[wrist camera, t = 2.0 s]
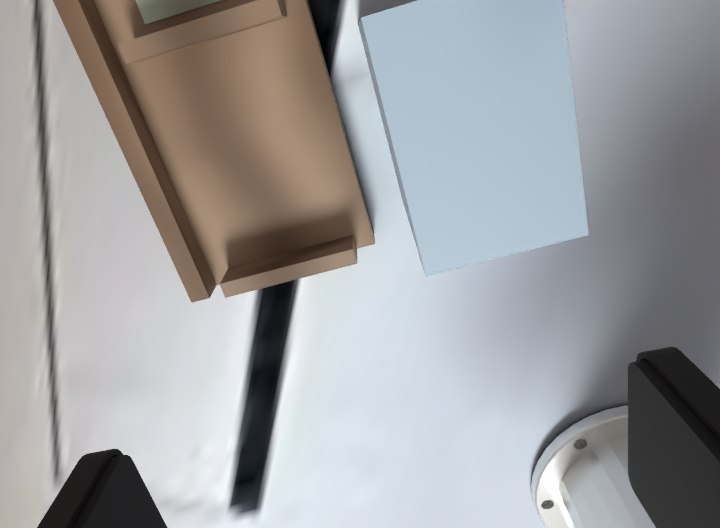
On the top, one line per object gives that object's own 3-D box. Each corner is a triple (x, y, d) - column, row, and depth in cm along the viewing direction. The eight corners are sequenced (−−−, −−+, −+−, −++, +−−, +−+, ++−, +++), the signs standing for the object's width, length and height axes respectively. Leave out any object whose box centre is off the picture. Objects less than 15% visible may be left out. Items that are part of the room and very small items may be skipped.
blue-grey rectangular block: (484, -15, 24) (563, -45, 15) (514, 169, 28) (593, 234, 19) (357, 23, 25) (360, 17, 16) (402, 199, 29) (425, 276, 19)
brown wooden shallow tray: (212, -337, 20) (183, -412, 17) (373, 233, 29) (376, 259, 26) (-26, -247, 21) (-97, -300, 18) (204, 278, 30) (186, 308, 27)
